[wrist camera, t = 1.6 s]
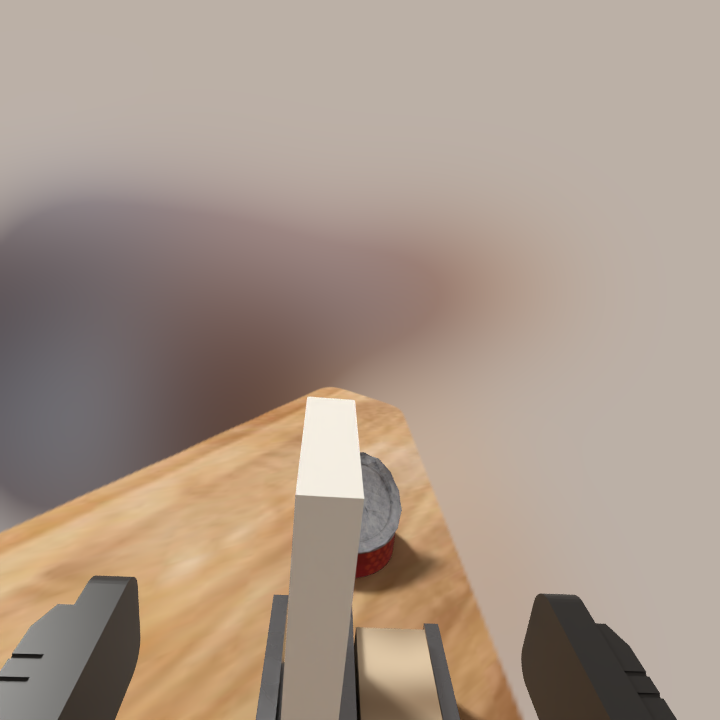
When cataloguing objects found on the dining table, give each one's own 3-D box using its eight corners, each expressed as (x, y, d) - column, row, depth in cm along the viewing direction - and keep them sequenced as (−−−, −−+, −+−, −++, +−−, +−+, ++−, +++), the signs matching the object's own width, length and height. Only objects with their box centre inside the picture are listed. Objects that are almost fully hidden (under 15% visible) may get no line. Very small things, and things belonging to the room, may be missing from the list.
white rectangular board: (320, 873, 26) (364, 498, 19) (270, 873, 26) (295, 494, 19) (323, 702, 35) (354, 400, 27) (286, 702, 34) (307, 396, 27)
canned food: (385, 570, 56) (439, 516, 51) (328, 619, 48) (387, 559, 43) (320, 490, 60) (365, 433, 55) (257, 522, 52) (304, 457, 47)
